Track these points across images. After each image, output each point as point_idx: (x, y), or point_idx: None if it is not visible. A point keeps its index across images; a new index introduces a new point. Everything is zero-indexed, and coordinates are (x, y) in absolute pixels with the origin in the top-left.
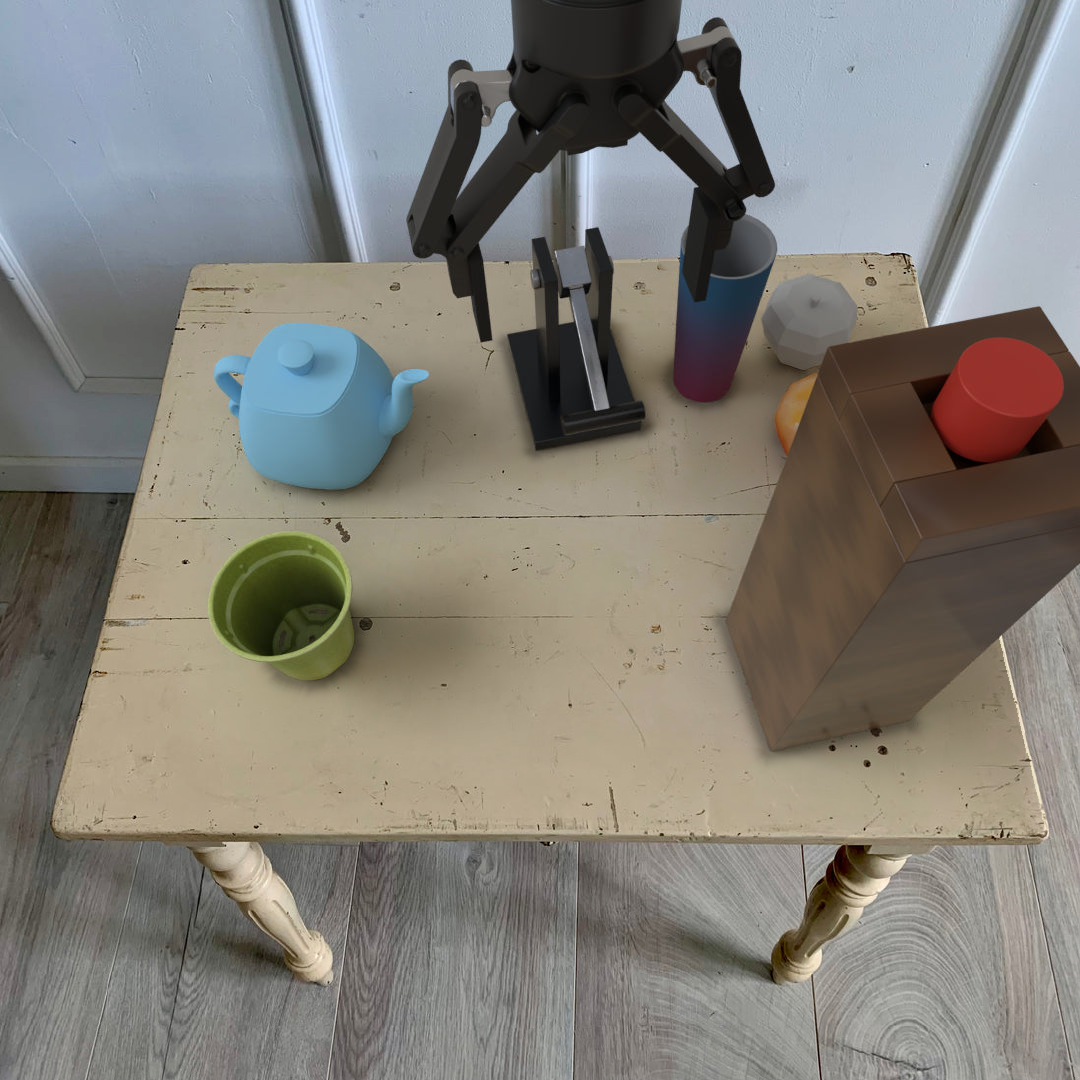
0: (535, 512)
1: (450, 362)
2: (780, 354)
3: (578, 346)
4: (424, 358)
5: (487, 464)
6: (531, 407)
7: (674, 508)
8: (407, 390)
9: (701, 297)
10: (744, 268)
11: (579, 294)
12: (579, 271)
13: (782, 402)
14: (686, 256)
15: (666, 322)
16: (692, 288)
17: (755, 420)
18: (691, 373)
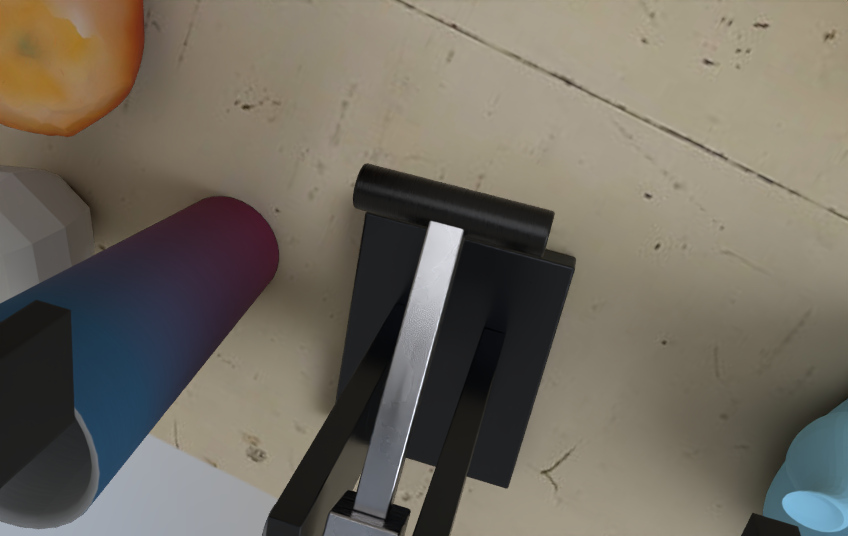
0: (647, 133)
1: (624, 490)
2: (76, 213)
3: None
4: (663, 520)
5: (677, 275)
6: (542, 339)
7: (389, 14)
8: (833, 485)
9: (38, 311)
10: None
11: (368, 498)
12: None
13: (97, 102)
14: (17, 456)
15: (242, 374)
16: (51, 352)
17: (174, 125)
18: (236, 250)
